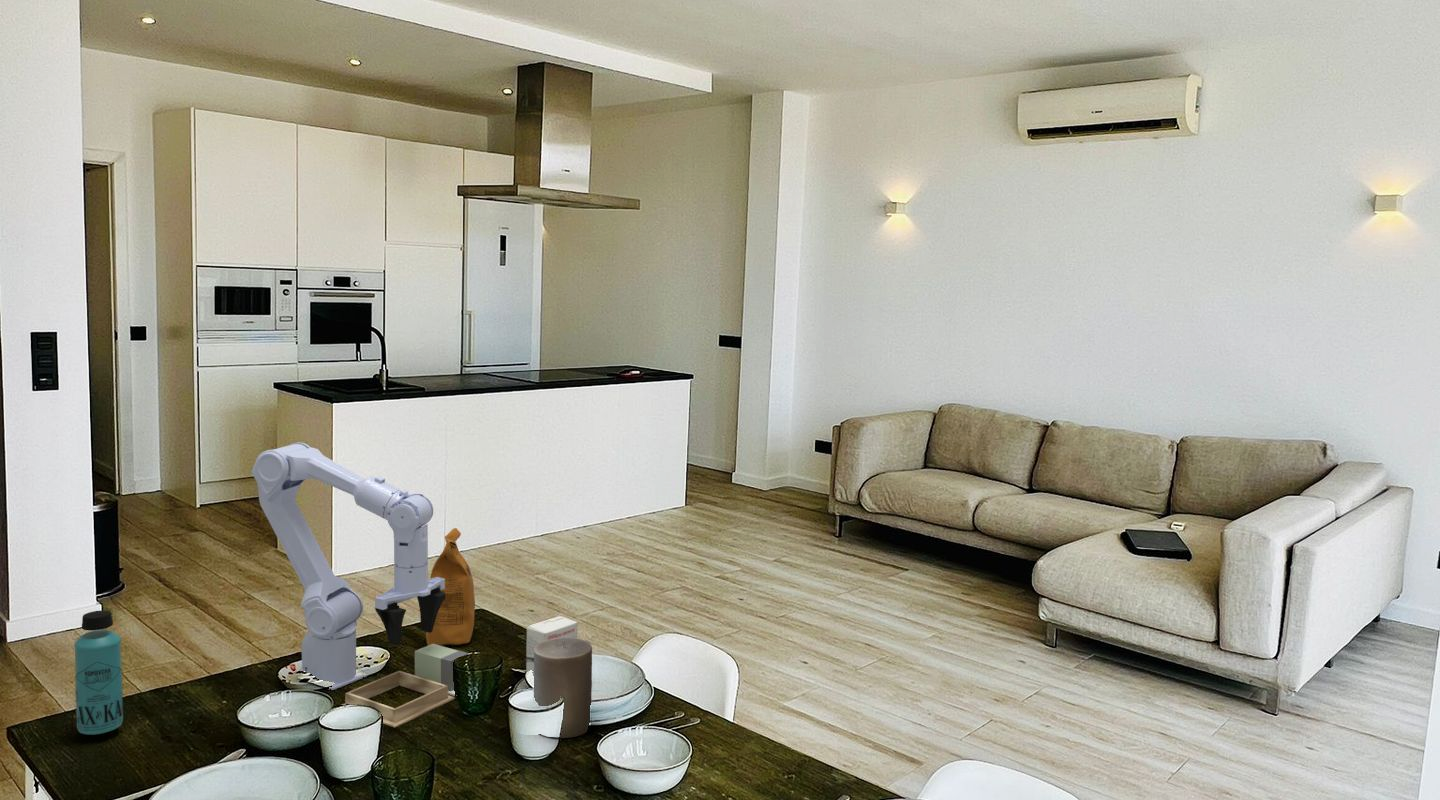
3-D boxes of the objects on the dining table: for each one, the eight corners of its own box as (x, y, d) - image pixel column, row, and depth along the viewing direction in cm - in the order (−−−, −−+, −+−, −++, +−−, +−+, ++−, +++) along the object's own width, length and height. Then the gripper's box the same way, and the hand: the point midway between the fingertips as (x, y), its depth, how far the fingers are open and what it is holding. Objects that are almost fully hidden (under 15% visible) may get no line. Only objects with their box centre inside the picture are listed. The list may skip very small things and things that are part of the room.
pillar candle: (603, 727, 167) (604, 640, 166) (555, 745, 160) (556, 654, 159) (568, 709, 174) (569, 625, 172) (520, 725, 167) (521, 638, 165)
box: (414, 680, 183) (414, 650, 182) (433, 672, 187) (433, 643, 186) (450, 691, 178) (450, 661, 178) (469, 682, 182) (469, 653, 182)
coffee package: (479, 627, 212) (480, 526, 209) (472, 649, 200) (472, 541, 197) (431, 627, 211) (431, 525, 208) (420, 649, 198) (420, 541, 196)
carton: (338, 707, 171) (338, 693, 171) (399, 681, 183) (399, 668, 182) (394, 727, 164) (394, 713, 164) (454, 698, 176) (454, 685, 176)
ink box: (543, 696, 179) (544, 633, 177) (524, 689, 181) (525, 626, 180) (578, 682, 185) (579, 620, 184) (559, 675, 188) (560, 614, 187)
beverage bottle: (71, 734, 158) (65, 612, 156) (118, 721, 163) (113, 603, 161) (83, 748, 154) (78, 623, 151) (131, 735, 159) (126, 613, 156)
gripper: (395, 577, 169) (395, 654, 171) (457, 558, 182) (456, 630, 183) (366, 570, 173) (366, 645, 174) (429, 551, 185) (429, 622, 187)
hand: (411, 637), depth 179 cm, fingers open, 7 cm apart
